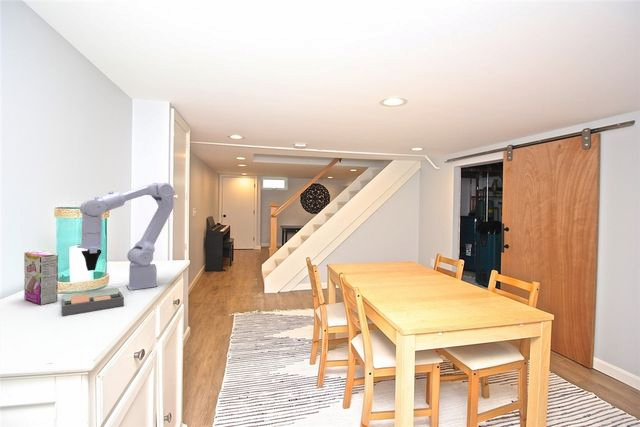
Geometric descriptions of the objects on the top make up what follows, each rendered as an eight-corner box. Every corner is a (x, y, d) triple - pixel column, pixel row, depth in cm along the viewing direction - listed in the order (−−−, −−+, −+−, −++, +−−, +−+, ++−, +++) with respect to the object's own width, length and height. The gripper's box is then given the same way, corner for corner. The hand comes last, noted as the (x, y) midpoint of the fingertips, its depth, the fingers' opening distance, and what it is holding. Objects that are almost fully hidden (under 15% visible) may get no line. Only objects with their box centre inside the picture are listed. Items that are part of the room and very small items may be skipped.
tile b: (88, 299, 99) (88, 294, 98) (89, 306, 95) (89, 301, 95) (70, 301, 96) (71, 296, 95) (71, 309, 92) (71, 303, 92)
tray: (119, 299, 104) (119, 290, 104) (123, 306, 98) (123, 297, 98) (61, 308, 94) (61, 298, 94) (62, 316, 88) (62, 306, 88)
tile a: (109, 301, 101) (109, 295, 101) (111, 304, 98) (111, 298, 98) (93, 303, 98) (93, 297, 98) (94, 307, 95) (94, 301, 95)
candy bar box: (22, 300, 100) (23, 252, 100) (41, 296, 104) (42, 250, 104) (39, 306, 95) (40, 255, 95) (58, 301, 100) (59, 253, 99)
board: (117, 292, 112) (117, 287, 111) (121, 298, 105) (121, 293, 105) (61, 300, 101) (61, 294, 101) (61, 307, 95) (61, 301, 94)
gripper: (76, 231, 109) (75, 267, 110) (78, 235, 98) (78, 275, 99) (99, 230, 114) (99, 265, 114) (104, 234, 103) (104, 272, 104)
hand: (91, 270), depth 107 cm, fingers closed
